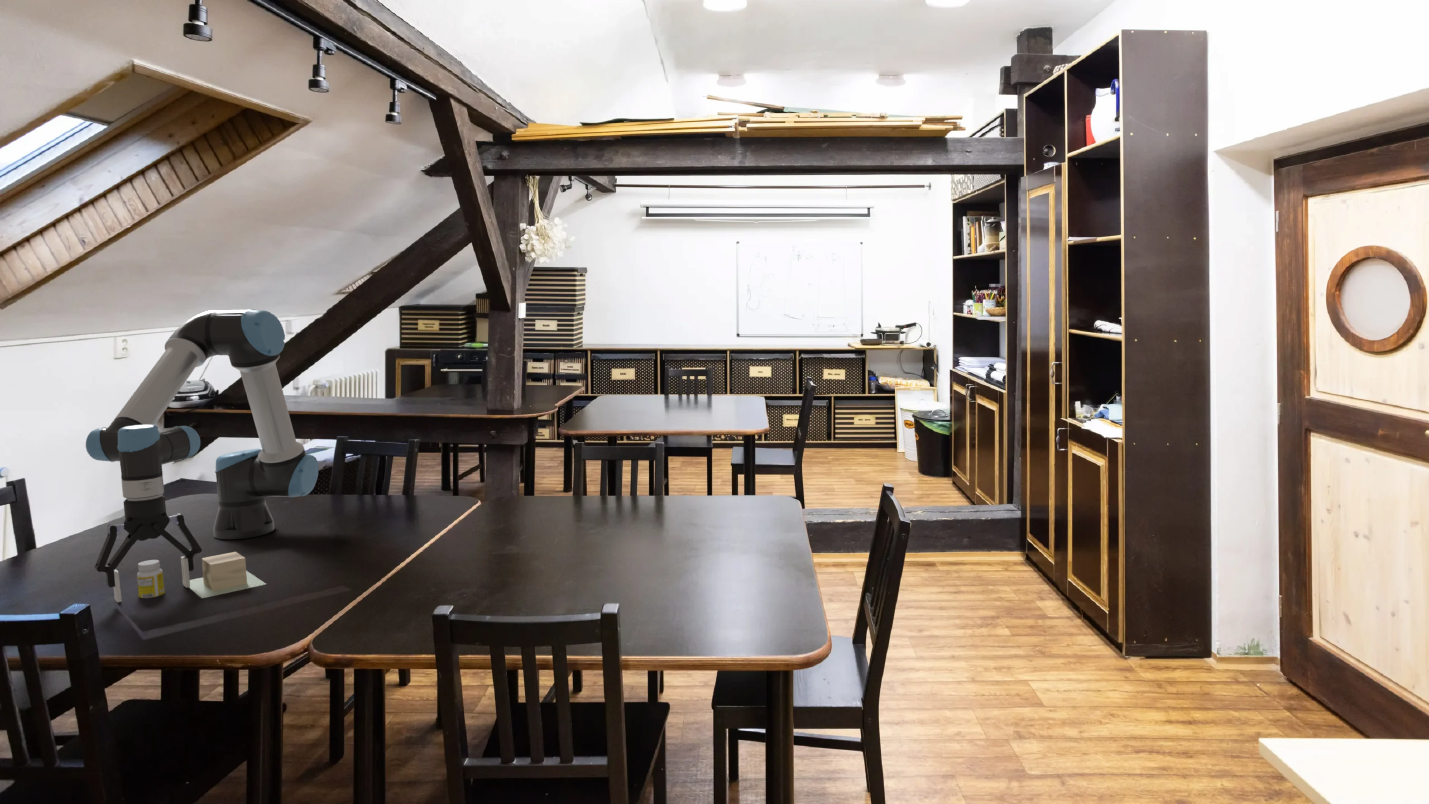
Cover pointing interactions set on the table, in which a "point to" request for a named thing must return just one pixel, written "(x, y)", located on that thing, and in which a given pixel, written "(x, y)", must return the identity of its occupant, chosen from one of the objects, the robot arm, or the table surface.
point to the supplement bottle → (150, 579)
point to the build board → (204, 591)
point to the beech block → (224, 571)
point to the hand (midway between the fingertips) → (153, 593)
